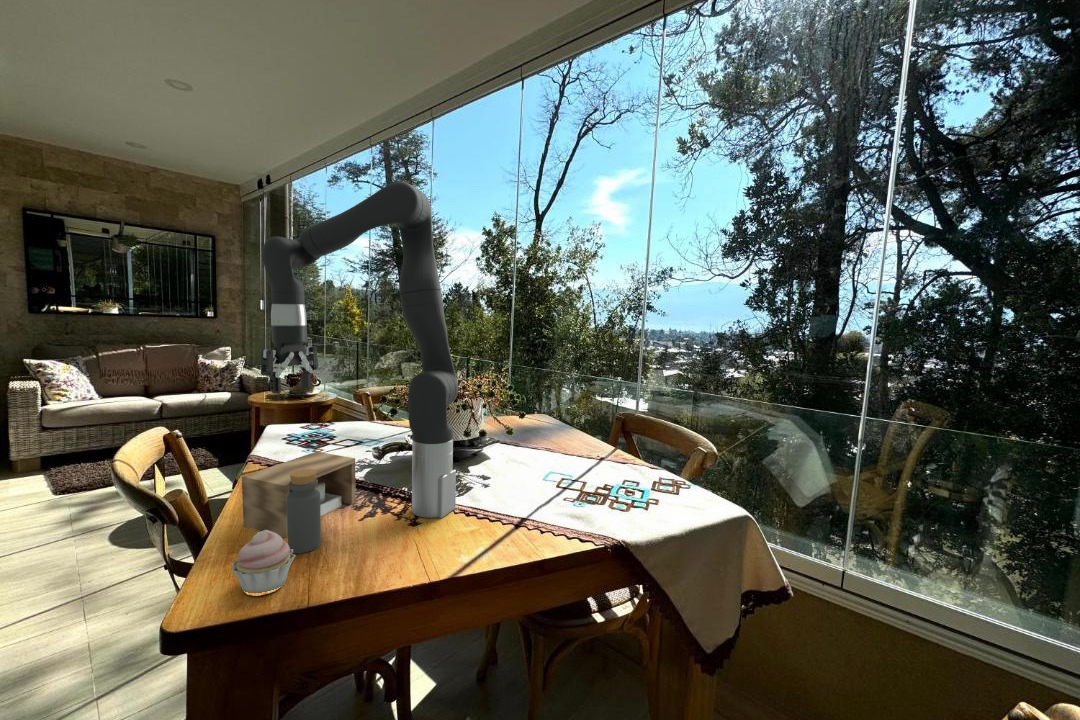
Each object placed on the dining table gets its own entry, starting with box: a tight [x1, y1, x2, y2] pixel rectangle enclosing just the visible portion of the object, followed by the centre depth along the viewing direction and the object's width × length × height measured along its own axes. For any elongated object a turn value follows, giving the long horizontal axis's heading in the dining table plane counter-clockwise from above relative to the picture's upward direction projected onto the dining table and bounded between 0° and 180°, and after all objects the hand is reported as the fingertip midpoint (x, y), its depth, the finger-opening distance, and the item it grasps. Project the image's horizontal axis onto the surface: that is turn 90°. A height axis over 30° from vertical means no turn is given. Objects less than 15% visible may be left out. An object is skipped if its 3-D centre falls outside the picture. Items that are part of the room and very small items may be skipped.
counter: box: [241, 451, 357, 539], centre depth 109 cm, size 12×20×11 cm, turn 160°
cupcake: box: [231, 530, 296, 593], centre depth 81 cm, size 9×9×10 cm
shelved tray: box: [290, 482, 343, 517], centre depth 109 cm, size 8×14×6 cm, turn 160°
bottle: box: [287, 469, 322, 554], centre depth 95 cm, size 6×6×15 cm
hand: (291, 390), depth 117 cm, fingers open, 8 cm apart
